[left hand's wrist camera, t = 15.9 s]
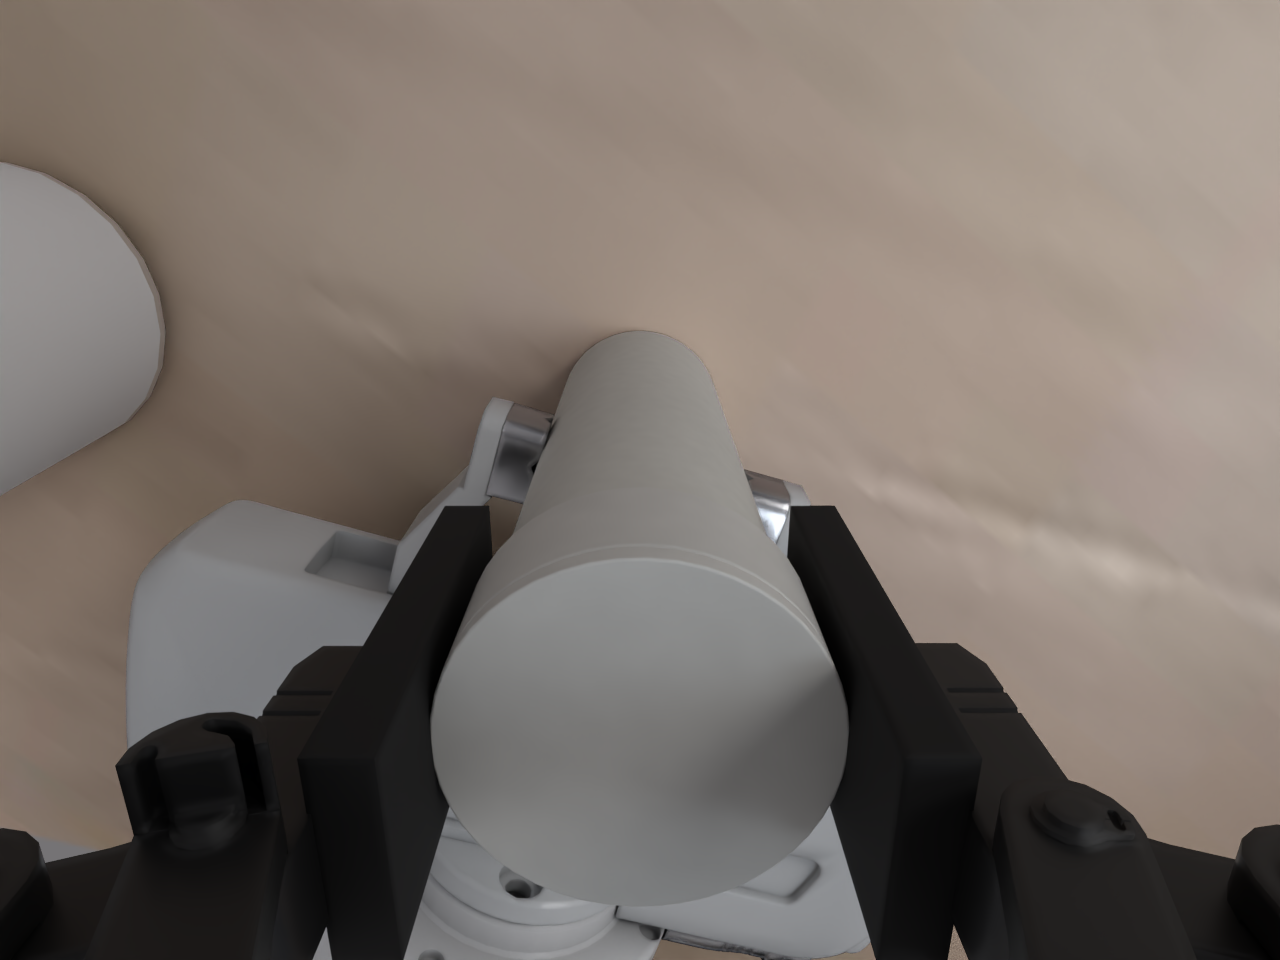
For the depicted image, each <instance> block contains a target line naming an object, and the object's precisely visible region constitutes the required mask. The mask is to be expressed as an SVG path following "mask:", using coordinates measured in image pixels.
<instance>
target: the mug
mask: <svg viewBox="0 0 1280 960" xmlns="http://www.w3.org/2000/svg"><path fill="white" fill-rule="evenodd" d="M165 335H166V329H165V323H164V318H163V312H162V307H161V301H160V296H159V292H158V290H157V288H156V286H155V283H154V281H153V279H152V277H151V274H150V272H149V270H148V268H147V265H146V263H145V261H144V259H143V257H142V256H141V255H140V253H139V252H138V251H137V249H136V248H135V247H134V245H133V244H132V243H131V241H130V240H129V239H128V237H127V236H126V234H125V233H124V232H123V230H122V229H121V228H120V226H119V225H118V224H117V223H116V222H115V221H114V220H113V219H111V218H110V217H109V216H108V215H107V214H106V213H105V212H104V211H102V210H101V209H100V208H99V207H98V206H97V205H96V204H94V203H93V202H92V201H91V200H90V199H89V198H88V197H87V196H85V195H84V194H82V193H81V192H79V191H77V190H75V189H73V188H72V187H70V186H68V185H66V184H64V183H63V182H61V181H59V180H57V179H55V178H54V177H52V176H50V175H48V174H46V173H43V172H39V171H36V170H32V169H29V168H25V167H22V166H18V165H15V164H11V163H8V162H0V496H1V495H3V494H4V493H6V492H8V491H10V490H11V489H13V488H15V487H16V486H18V485H20V484H22V483H23V482H25V481H27V480H28V479H30V478H32V477H34V476H35V475H37V474H39V473H40V472H42V471H44V470H46V469H47V468H49V467H51V466H53V465H54V464H56V463H58V462H59V461H61V460H63V459H65V458H66V457H68V456H70V455H71V454H73V453H75V452H77V451H78V450H80V449H82V448H83V447H85V446H87V445H89V444H90V443H92V442H94V441H96V440H97V439H99V438H101V437H103V436H105V435H106V434H108V433H110V432H111V431H113V430H115V429H116V428H118V427H120V426H121V425H123V424H124V423H126V422H128V421H129V420H131V419H132V417H133V416H134V415H135V414H136V413H137V412H138V410H139V409H140V408H141V407H142V406H143V405H144V403H145V402H146V401H147V400H148V399H149V398H150V396H151V394H152V392H153V389H154V387H155V384H156V382H157V379H158V377H159V374H160V372H161V369H162V367H163V358H164V347H165Z"/></svg>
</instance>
